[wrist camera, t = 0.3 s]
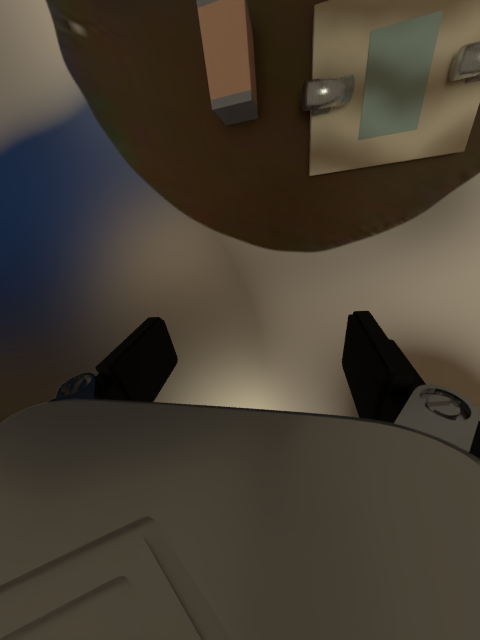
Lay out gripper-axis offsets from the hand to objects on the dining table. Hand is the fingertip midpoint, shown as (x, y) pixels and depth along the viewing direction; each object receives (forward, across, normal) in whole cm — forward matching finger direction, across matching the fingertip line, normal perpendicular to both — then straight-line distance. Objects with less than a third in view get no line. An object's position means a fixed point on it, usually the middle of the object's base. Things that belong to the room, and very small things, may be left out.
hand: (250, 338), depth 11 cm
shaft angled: (+28, -7, -15) cm, 33 cm away
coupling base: (+30, -14, -15) cm, 36 cm away
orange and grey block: (+30, +4, -19) cm, 36 cm away
